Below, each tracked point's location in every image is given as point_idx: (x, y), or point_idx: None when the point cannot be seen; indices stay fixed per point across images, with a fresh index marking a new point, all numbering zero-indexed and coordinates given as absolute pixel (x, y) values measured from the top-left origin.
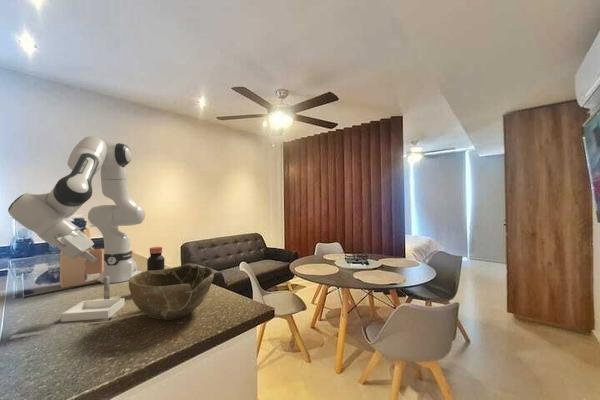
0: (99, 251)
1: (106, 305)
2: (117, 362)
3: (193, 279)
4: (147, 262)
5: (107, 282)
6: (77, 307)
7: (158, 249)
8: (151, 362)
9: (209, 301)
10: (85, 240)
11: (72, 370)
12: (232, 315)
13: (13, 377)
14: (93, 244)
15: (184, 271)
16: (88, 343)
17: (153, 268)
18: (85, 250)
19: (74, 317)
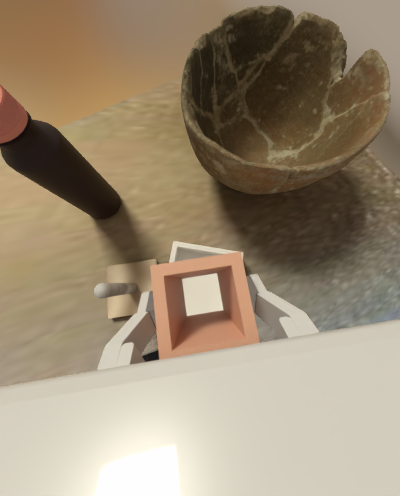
0: (242, 265)
1: None
2: (380, 205)
3: (211, 84)
4: (45, 175)
5: (116, 286)
6: None
7: (8, 94)
8: (387, 169)
9: None
10: (61, 492)
11: (390, 251)
12: None
13: (396, 316)
14: (16, 384)
15: (196, 79)
16: (319, 258)
17: (80, 168)
18: (354, 326)
19: None
